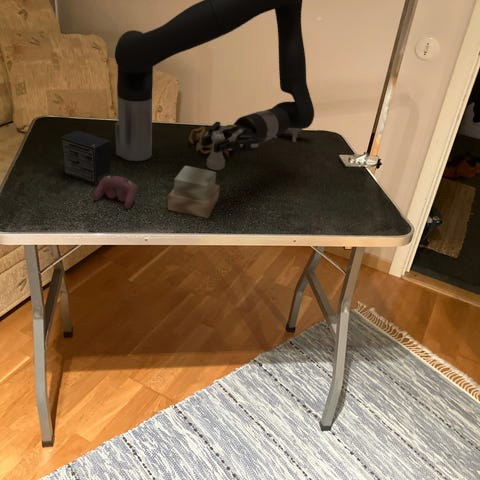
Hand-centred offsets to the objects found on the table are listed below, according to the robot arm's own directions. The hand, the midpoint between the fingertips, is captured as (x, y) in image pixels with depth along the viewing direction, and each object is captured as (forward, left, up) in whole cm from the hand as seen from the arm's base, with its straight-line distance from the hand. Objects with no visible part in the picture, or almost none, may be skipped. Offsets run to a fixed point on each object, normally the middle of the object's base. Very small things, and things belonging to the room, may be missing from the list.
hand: (209, 145), depth 111 cm
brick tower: (-3, +3, -18) cm, 18 cm away
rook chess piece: (+1, +3, -6) cm, 7 cm away
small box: (-33, +6, -18) cm, 38 cm away
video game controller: (-21, -3, -18) cm, 28 cm away
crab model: (-8, +37, -18) cm, 42 cm away
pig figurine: (+13, +58, -18) cm, 62 cm away
